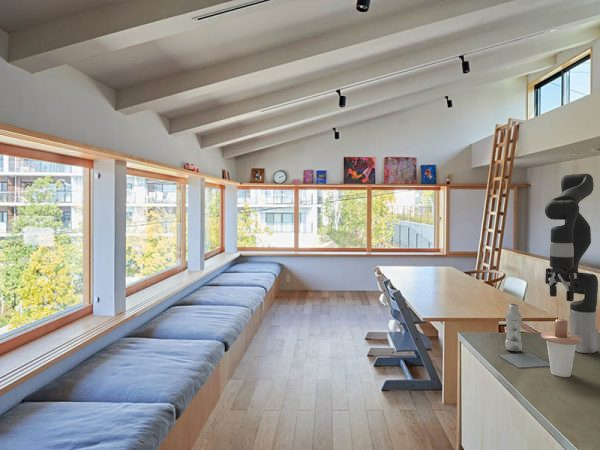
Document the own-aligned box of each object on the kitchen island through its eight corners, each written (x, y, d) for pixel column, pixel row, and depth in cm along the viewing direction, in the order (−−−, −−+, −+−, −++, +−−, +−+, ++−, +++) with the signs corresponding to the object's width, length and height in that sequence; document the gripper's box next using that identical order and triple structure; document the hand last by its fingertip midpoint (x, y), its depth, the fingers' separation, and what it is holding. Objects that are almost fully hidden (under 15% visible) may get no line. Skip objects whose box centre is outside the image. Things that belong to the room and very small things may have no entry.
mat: (529, 354, 181) (529, 353, 181) (552, 366, 167) (552, 365, 167) (498, 355, 180) (498, 354, 180) (518, 368, 166) (518, 367, 166)
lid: (564, 333, 167) (564, 315, 167) (590, 343, 154) (591, 324, 154) (533, 334, 165) (533, 316, 165) (557, 345, 152) (557, 326, 152)
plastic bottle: (518, 348, 189) (518, 302, 188) (524, 353, 182) (524, 306, 181) (502, 347, 190) (502, 302, 189) (508, 353, 183) (508, 306, 182)
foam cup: (578, 380, 154) (578, 344, 154) (549, 376, 157) (549, 341, 157) (572, 370, 163) (572, 336, 163) (544, 367, 166) (544, 334, 166)
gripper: (585, 256, 152) (585, 302, 153) (557, 252, 166) (557, 294, 167) (566, 257, 151) (565, 303, 152) (539, 253, 165) (539, 295, 166)
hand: (561, 298), depth 159 cm, fingers open, 8 cm apart
